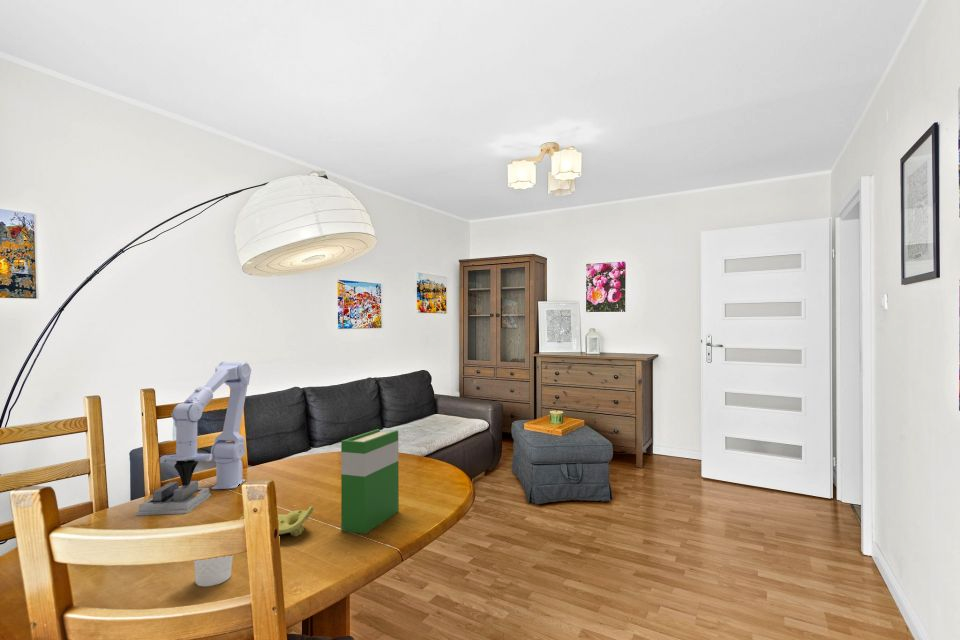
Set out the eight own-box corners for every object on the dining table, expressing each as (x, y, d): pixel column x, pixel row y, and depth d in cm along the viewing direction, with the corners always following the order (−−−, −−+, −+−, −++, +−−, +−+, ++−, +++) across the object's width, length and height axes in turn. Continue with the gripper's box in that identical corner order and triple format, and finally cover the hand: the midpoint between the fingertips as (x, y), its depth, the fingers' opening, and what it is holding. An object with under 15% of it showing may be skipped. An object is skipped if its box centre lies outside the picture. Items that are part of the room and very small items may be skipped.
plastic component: (231, 529, 126) (255, 501, 135) (241, 549, 129) (264, 520, 138) (294, 531, 120) (315, 501, 129) (304, 552, 123) (324, 522, 132)
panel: (189, 496, 157) (190, 481, 157) (197, 496, 157) (198, 480, 157) (173, 507, 147) (173, 490, 147) (182, 506, 147) (182, 490, 147)
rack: (166, 498, 159) (166, 479, 159) (210, 496, 160) (211, 477, 160) (136, 515, 143) (137, 495, 143) (186, 513, 144) (186, 493, 144)
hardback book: (377, 508, 147) (377, 429, 148) (398, 511, 144) (398, 430, 145) (341, 530, 130) (341, 440, 131) (364, 533, 127) (364, 442, 128)
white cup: (194, 592, 99) (195, 542, 99) (190, 577, 105) (191, 530, 105) (236, 580, 103) (237, 533, 104) (230, 566, 110) (231, 522, 110)
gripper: (155, 444, 148) (154, 489, 147) (205, 443, 149) (204, 487, 149) (167, 440, 155) (167, 482, 154) (215, 438, 156) (214, 480, 156)
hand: (186, 484), depth 152 cm, fingers closed
